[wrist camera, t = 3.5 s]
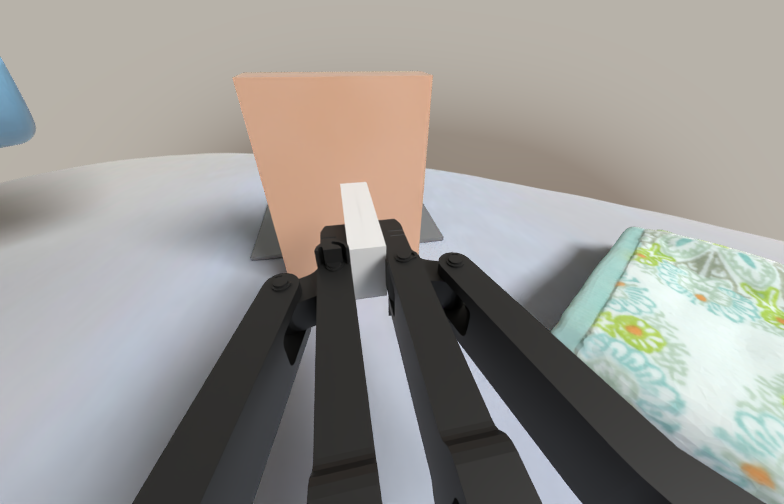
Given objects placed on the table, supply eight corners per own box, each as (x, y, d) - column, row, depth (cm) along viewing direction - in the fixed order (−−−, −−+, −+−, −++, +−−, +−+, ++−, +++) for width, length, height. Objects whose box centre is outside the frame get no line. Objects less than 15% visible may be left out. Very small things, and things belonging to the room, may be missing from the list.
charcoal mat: (251, 260, 28) (250, 257, 28) (274, 189, 42) (274, 186, 41) (443, 240, 32) (443, 237, 31) (407, 180, 45) (407, 177, 45)
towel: (905, 363, 20) (997, 315, 17) (1070, 785, 9) (1435, 865, 6) (615, 250, 31) (640, 208, 28) (518, 373, 20) (542, 325, 16)
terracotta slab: (290, 282, 26) (232, 77, 16) (293, 260, 29) (244, 72, 19) (417, 267, 28) (432, 75, 18) (409, 247, 30) (419, 70, 21)
